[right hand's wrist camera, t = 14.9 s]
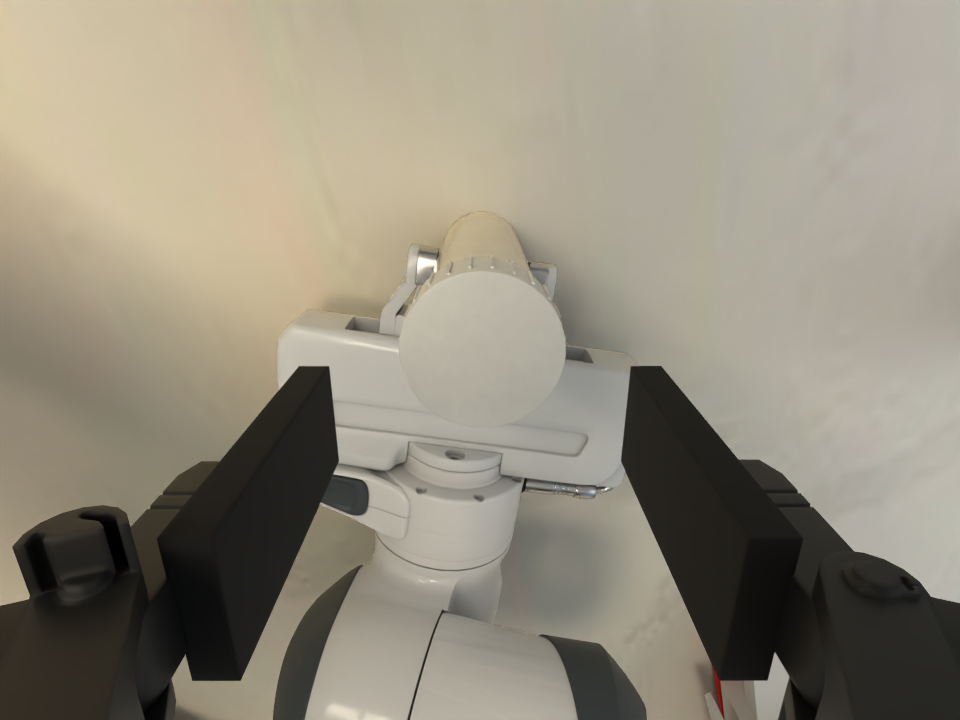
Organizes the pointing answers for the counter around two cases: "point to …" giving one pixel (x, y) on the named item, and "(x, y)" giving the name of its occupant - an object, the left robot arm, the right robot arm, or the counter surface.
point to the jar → (481, 240)
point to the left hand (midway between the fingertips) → (483, 255)
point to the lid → (482, 343)
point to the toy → (750, 696)
